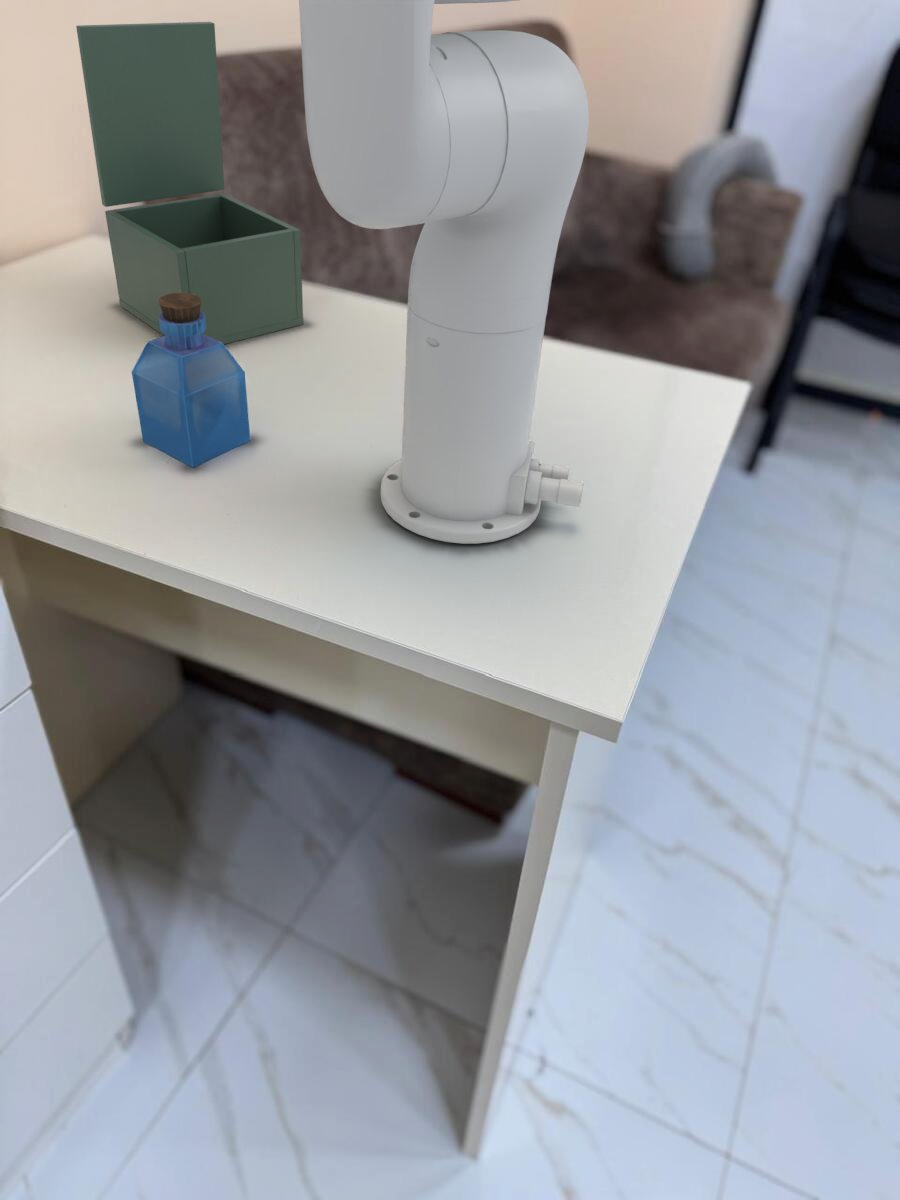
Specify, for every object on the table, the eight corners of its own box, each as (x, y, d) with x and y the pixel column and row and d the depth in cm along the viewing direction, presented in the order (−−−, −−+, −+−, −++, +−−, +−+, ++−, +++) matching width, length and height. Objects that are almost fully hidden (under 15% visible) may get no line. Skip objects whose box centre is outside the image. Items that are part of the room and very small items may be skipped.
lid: (214, 23, 88) (187, 12, 91) (79, 27, 81) (54, 15, 84) (224, 189, 98) (200, 175, 101) (105, 207, 91) (82, 191, 94)
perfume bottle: (143, 441, 76) (119, 299, 68) (201, 416, 80) (185, 279, 72) (192, 467, 73) (174, 323, 65) (250, 440, 77) (239, 301, 69)
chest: (303, 324, 97) (300, 229, 91) (189, 353, 89) (177, 252, 83) (230, 282, 105) (223, 193, 99) (120, 306, 98) (104, 210, 91)
